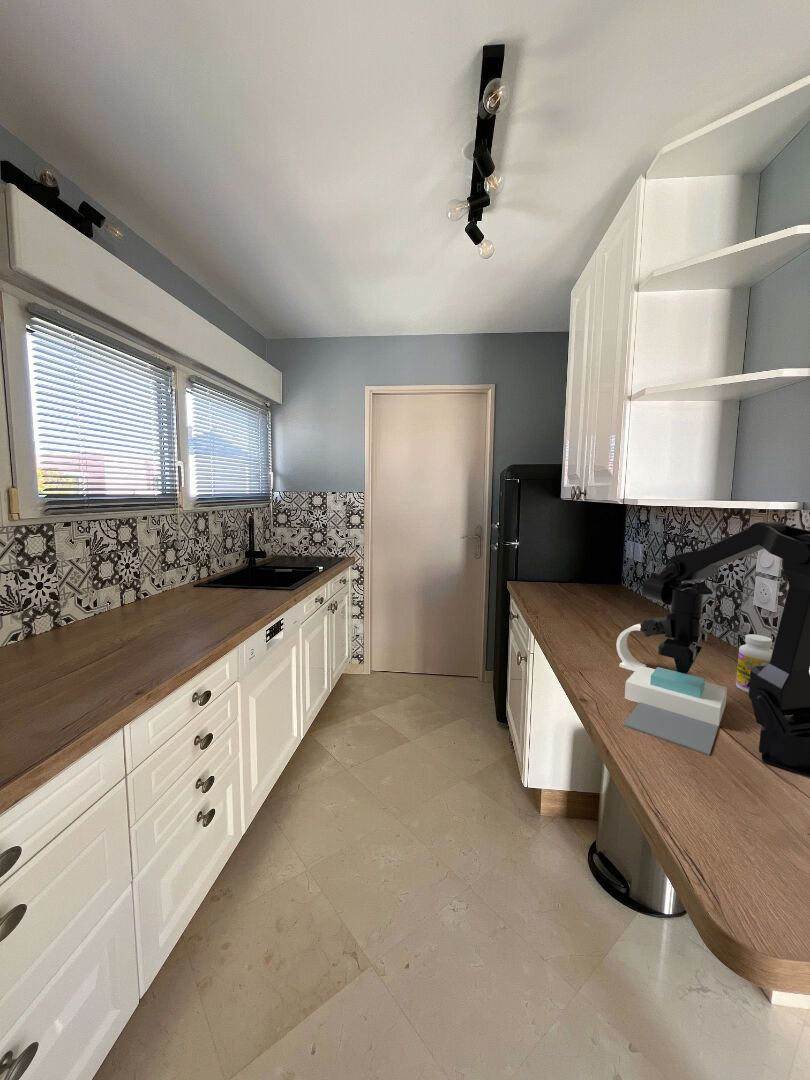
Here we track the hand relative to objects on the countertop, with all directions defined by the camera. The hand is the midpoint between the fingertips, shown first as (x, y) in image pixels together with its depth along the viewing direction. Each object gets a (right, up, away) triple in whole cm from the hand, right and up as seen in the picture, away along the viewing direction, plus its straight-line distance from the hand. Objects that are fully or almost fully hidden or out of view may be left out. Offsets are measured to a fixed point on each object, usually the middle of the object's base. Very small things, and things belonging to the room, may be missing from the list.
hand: (681, 677), depth 92 cm
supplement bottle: (+20, -5, +4) cm, 20 cm away
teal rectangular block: (-3, -1, -3) cm, 4 cm away
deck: (-3, -5, -1) cm, 6 cm away
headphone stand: (-2, -3, +17) cm, 18 cm away
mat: (-10, -6, -11) cm, 16 cm away
